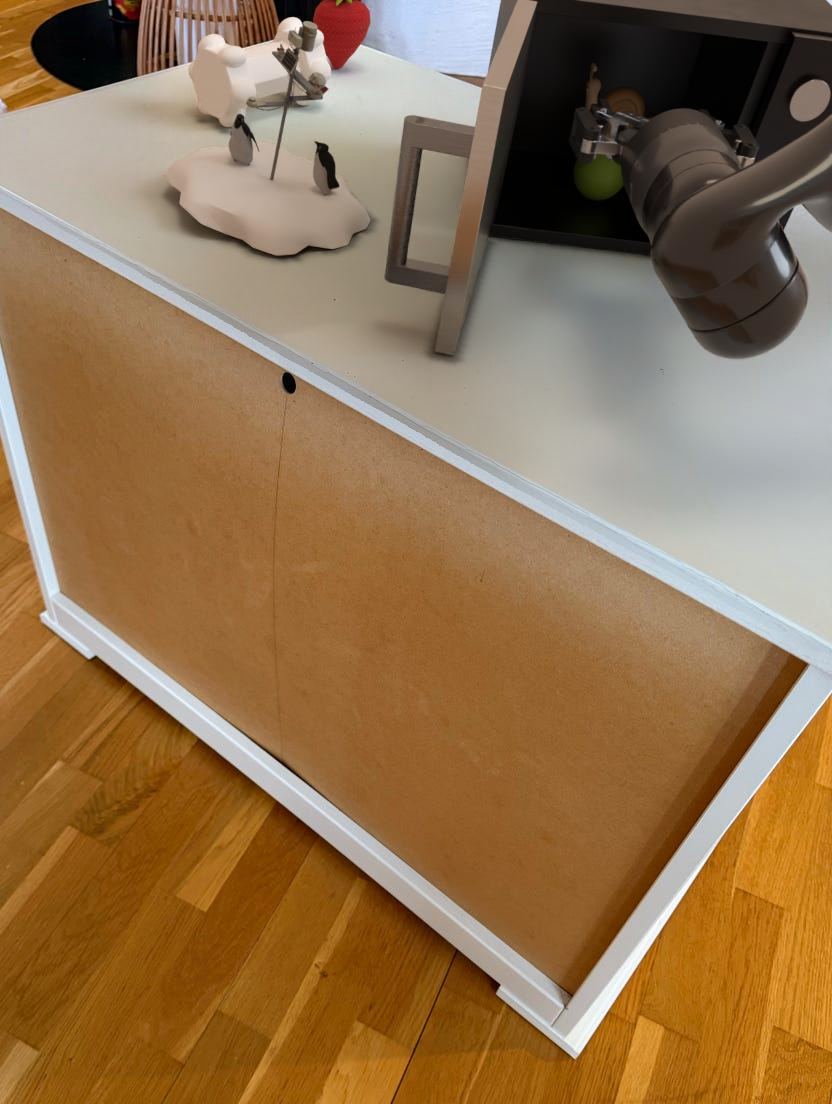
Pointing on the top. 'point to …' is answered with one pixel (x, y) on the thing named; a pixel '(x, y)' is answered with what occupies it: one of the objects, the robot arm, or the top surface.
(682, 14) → the microwave
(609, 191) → the snail figurine
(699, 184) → the robot arm
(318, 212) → the figurine
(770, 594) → the top surface
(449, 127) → the microwave door
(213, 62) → the bone shaped toy
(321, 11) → the strawberry
